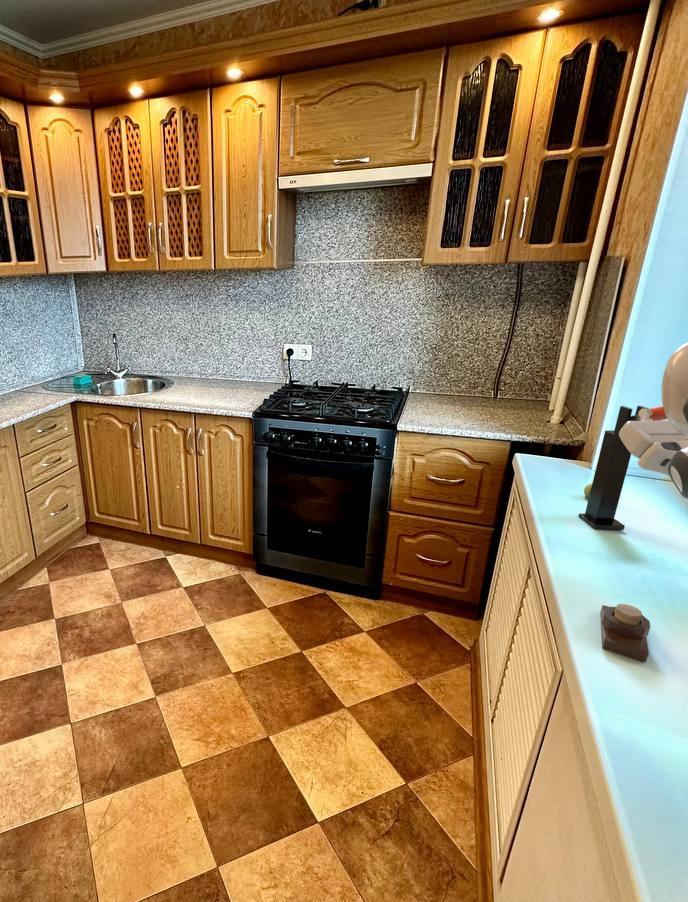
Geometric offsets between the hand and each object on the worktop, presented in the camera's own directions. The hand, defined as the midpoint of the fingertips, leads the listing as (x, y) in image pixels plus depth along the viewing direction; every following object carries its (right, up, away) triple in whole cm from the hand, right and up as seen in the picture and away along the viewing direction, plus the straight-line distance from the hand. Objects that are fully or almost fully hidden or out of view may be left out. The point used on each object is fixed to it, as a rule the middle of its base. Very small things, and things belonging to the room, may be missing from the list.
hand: (658, 410), depth 116 cm
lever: (0, -3, +3) cm, 4 cm away
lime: (+9, -22, +33) cm, 41 cm away
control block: (-25, -43, -22) cm, 54 cm away
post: (+1, -27, +19) cm, 33 cm away
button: (-25, -39, -23) cm, 52 cm away
